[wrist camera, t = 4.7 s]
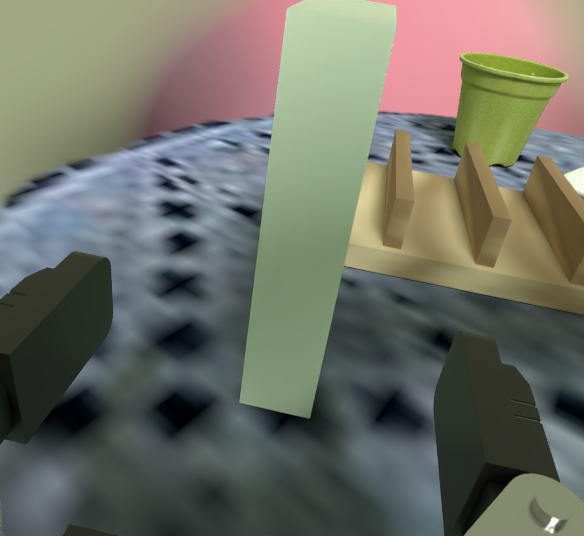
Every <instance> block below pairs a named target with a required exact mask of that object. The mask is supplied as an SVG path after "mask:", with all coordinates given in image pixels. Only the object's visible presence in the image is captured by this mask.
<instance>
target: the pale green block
mask: <svg viewBox="0 0 584 536" xmlns="http://www.w3.org/2000/svg"><path fill="white" fill-rule="evenodd" d="M396 12H397V11H396V6H395V5H388V4H383V3H377V2H371V1H365V0H303V1H301V2H299V3H297V4H295V5H293V6H291V7H289V8H288V9H287V14H286V22H285V31H284V38H283V47H282V55H281V63H280V71H279V79H278V88H277V96H276V104H275V112H274V120H273V129H272V137H271V145H270V154H269V162H268V170H267V178H266V187H265V195H264V203H263V211H262V220H261V228H260V236H259V244H258V253H257V261H256V269H255V277H254V286H253V294H252V302H251V310H250V319H249V327H248V335H247V343H246V352H245V360H244V368H243V376H242V385H241V393H240V401H239V403H243V404H247V405H251V406H256V407H260V408H265V409H269V410H273V411H278V412H282V413H287V414H291V415H295V416H300V417H304V418H309V419H310V416H311V411H312V407H313V402H314V398H315V393H316V389H317V384H318V380H319V375H320V371H321V366H322V362H323V357H324V353H325V348H326V344H327V339H328V335H329V330H330V326H331V321H332V317H333V312H334V308H335V303H336V299H337V294H338V290H339V285H340V281H341V276H342V272H343V267H344V263H345V258H346V254H347V249H348V245H349V240H350V236H351V231H352V227H353V222H354V218H355V213H356V209H357V204H358V200H359V195H360V191H361V186H362V182H363V177H364V173H365V168H366V164H367V159H368V155H369V150H370V146H371V141H372V137H373V132H374V128H375V123H376V119H377V114H378V109H379V105H380V100H381V96H382V91H383V87H384V82H385V78H386V73H387V69H388V64H389V60H390V55H391V51H392V46H393V42H394V37H395V33H396V28H397V20H396V19H397V15H396V14H397V13H396Z"/></svg>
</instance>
